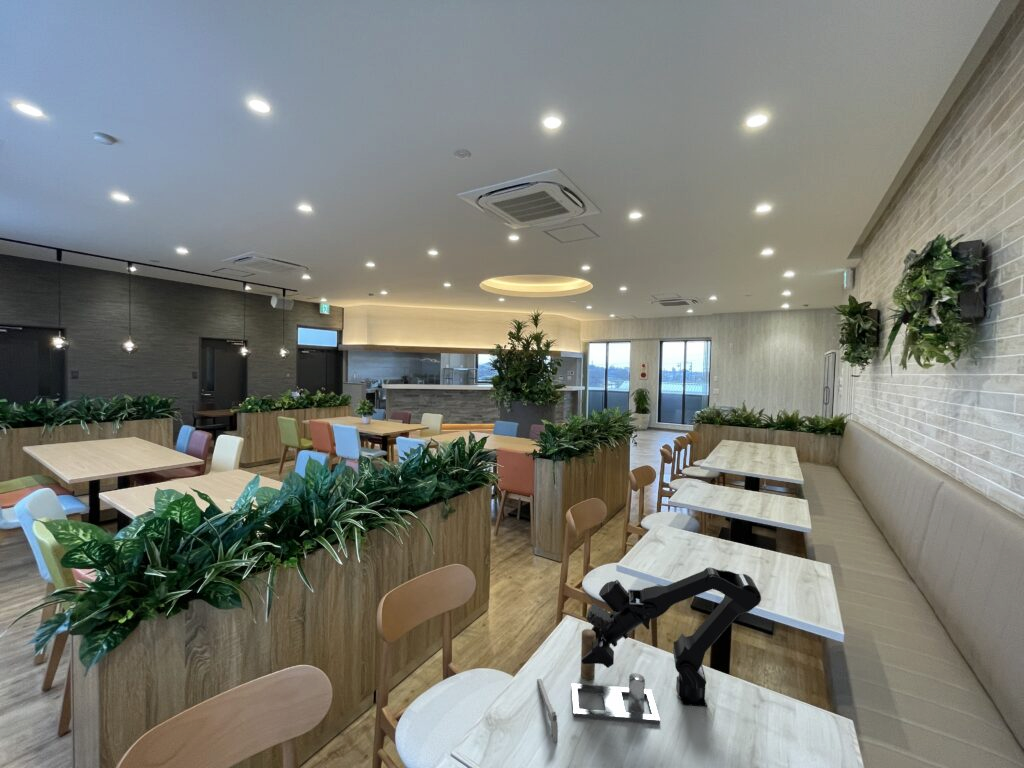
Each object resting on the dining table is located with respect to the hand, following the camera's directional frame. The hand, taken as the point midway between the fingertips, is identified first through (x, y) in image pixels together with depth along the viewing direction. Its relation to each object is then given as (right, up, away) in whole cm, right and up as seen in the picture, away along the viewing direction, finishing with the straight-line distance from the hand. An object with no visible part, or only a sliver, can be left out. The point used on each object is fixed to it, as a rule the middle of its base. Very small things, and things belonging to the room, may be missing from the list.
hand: (583, 651), depth 125 cm
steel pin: (+12, -8, -11) cm, 18 cm away
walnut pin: (+1, -7, 0) cm, 7 cm away
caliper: (-12, -8, -12) cm, 19 cm away
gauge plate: (+6, -8, -10) cm, 15 cm away
